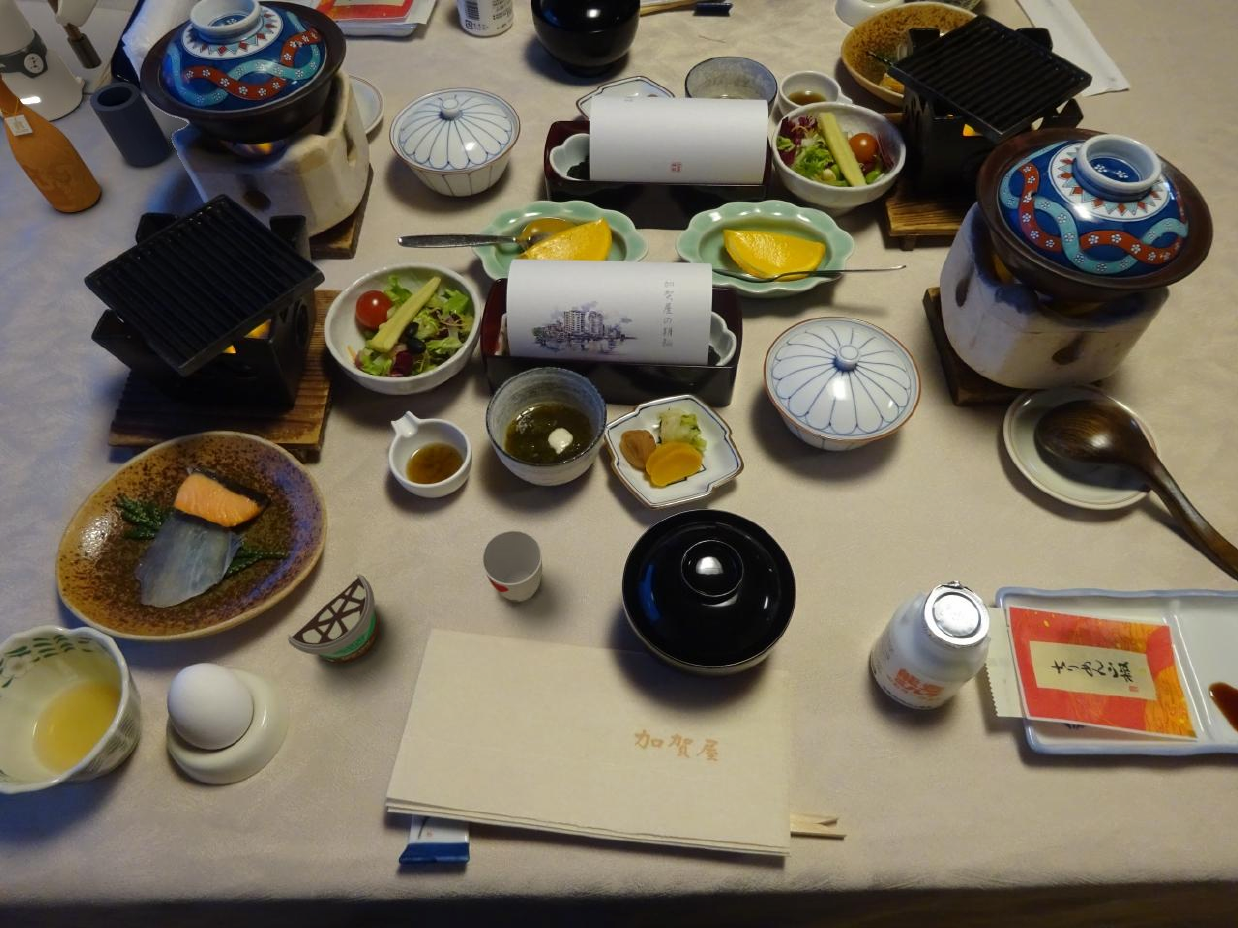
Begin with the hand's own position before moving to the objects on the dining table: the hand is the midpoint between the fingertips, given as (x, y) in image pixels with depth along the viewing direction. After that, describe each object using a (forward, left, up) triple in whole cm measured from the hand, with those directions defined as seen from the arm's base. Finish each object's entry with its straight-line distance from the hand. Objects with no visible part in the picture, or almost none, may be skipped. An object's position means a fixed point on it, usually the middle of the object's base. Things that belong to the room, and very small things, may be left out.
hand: (60, 17), depth 141 cm
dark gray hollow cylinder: (+1, +1, -29) cm, 29 cm away
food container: (+110, -56, -29) cm, 127 cm away
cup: (+124, -37, -29) cm, 132 cm away
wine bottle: (0, -16, -29) cm, 33 cm away
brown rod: (0, +1, -9) cm, 9 cm away
